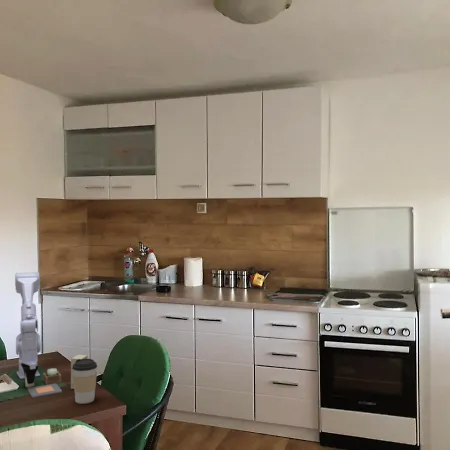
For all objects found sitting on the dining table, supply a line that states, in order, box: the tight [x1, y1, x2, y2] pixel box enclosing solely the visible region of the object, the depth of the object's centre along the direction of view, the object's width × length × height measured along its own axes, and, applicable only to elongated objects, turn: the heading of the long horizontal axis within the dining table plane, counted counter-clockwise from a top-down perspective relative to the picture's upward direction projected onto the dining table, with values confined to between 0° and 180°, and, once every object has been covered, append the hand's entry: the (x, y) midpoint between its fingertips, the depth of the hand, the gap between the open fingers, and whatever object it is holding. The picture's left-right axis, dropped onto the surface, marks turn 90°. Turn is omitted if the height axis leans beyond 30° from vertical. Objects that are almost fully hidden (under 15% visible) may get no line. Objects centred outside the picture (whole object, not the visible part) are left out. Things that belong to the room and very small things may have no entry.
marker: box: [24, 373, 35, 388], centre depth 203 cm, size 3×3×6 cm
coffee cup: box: [72, 358, 98, 405], centre depth 188 cm, size 9×9×15 cm
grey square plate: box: [27, 383, 63, 399], centre depth 197 cm, size 10×11×1 cm
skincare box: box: [70, 354, 88, 390], centre depth 202 cm, size 6×4×12 cm
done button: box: [46, 367, 58, 377], centre depth 208 cm, size 4×4×3 cm
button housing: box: [42, 370, 62, 385], centre depth 208 cm, size 6×6×3 cm
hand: (29, 382), depth 203 cm, fingers closed on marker, 3 cm apart
